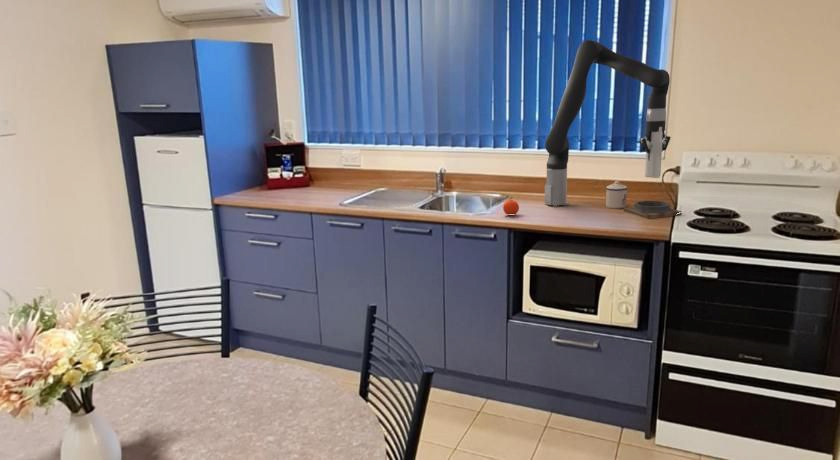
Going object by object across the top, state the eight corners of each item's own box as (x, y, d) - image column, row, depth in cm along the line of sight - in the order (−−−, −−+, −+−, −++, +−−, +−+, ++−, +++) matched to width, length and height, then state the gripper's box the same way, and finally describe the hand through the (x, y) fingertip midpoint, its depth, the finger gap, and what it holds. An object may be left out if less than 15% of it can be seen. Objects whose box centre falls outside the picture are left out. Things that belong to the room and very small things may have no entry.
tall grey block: (645, 175, 251) (648, 125, 246) (661, 175, 248) (663, 125, 243) (643, 178, 245) (646, 126, 240) (659, 178, 242) (662, 126, 237)
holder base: (647, 218, 240) (648, 209, 240) (623, 210, 256) (623, 201, 256) (681, 214, 244) (681, 205, 243) (655, 207, 260) (655, 198, 259)
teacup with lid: (626, 208, 260) (627, 183, 257) (605, 208, 263) (606, 183, 260) (626, 203, 271) (626, 178, 269) (605, 203, 274) (606, 178, 271)
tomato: (501, 213, 262) (500, 198, 261) (516, 212, 263) (516, 197, 261) (505, 217, 255) (505, 201, 253) (520, 216, 255) (520, 200, 254)
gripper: (664, 118, 246) (662, 159, 250) (635, 120, 243) (633, 161, 247) (676, 119, 239) (674, 161, 243) (646, 121, 236) (644, 163, 240)
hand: (653, 161), depth 245 cm, fingers closed on tall grey block, 3 cm apart
